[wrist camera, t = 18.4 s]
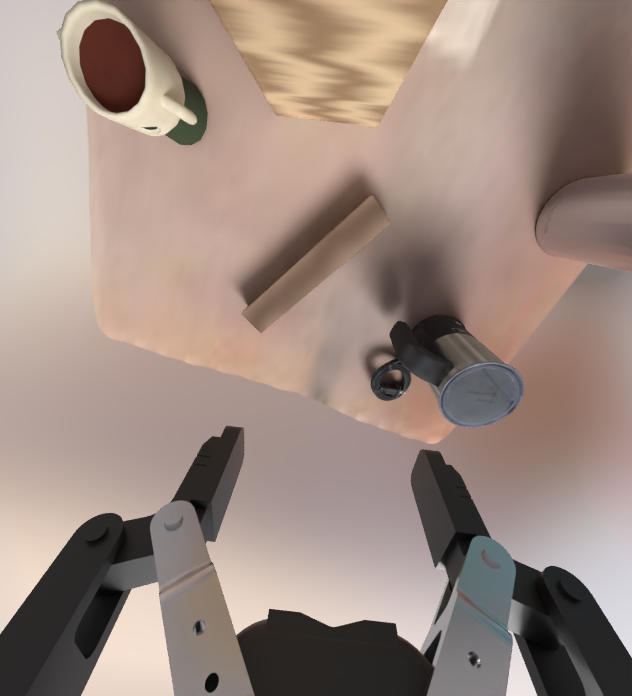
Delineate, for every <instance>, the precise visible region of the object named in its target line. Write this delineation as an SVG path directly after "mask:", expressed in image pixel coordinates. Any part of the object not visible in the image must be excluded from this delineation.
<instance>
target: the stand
mask: <svg viewBox="0 0 632 696" xmlns="http://www.w3.org/2000/svg"><path fill="white" fill-rule="evenodd" d="M209 1H210V3H211V5H212V6H213V8H214V10H215V11H216V13H217V15H218V16H219V18H220V20H221V22H222V23H223V25H224V27H225V28H226V30H227V32H228V34H229V35H230V37H231V39H232V40H233V42H234V44H235V45H236V47H237V49H238V51H239V52H240V54H241V56H242V57H243V59H244V61H245V63H246V64H247V66H248V68H249V69H250V71H251V73H252V74H253V76H254V78H255V80H256V81H257V83H258V85H259V86H260V88H261V90H262V91H263V93H264V95H265V97H266V98H267V100H268V102H269V103H270V105H271V107H272V109H273V110H274V112H275V114H276V115H282V116H290V117H298V118H307V119H315V120H323V121H331V122H340V123H348V124H356V125H364V126H372V127H378V125H379V123H380V121H381V120H382V118H383V116H384V114H385V112H386V111H387V109H388V107H389V105H390V103H391V102H392V100H393V98H394V96H395V94H396V93H397V91H398V89H399V87H400V85H401V83H402V82H403V80H404V78H405V76H406V74H407V73H408V71H409V69H410V67H411V65H412V64H413V62H414V60H415V58H416V56H417V55H418V53H419V51H420V49H421V47H422V46H423V44H424V42H425V40H426V38H427V37H428V35H429V33H430V31H431V29H432V27H433V26H434V24H435V22H436V20H437V18H438V17H439V15H440V13H441V11H442V9H443V8H444V6H445V4H446V2H447V0H209Z"/></svg>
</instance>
